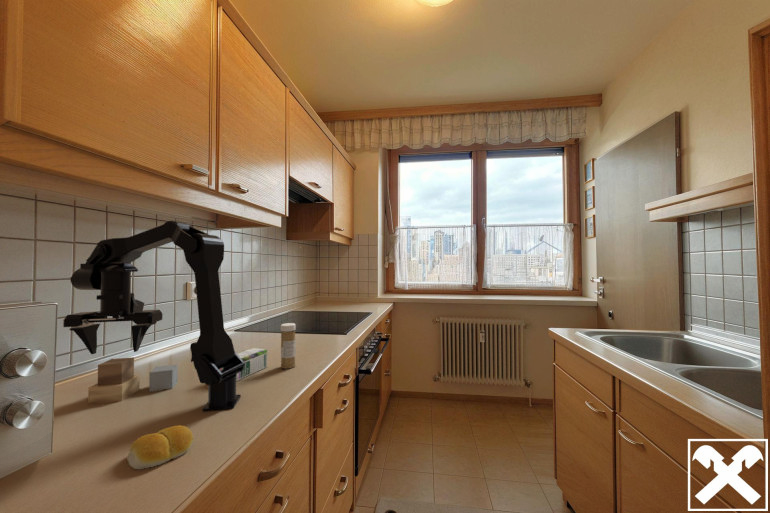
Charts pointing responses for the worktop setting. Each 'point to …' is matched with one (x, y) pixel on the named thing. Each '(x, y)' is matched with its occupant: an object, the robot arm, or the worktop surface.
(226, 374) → the robot arm
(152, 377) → the slate-grey cube
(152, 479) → the worktop surface
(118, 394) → the oak base block
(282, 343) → the sprinkles bottle
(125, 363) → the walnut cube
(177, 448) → the bread roll
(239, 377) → the syrup box
